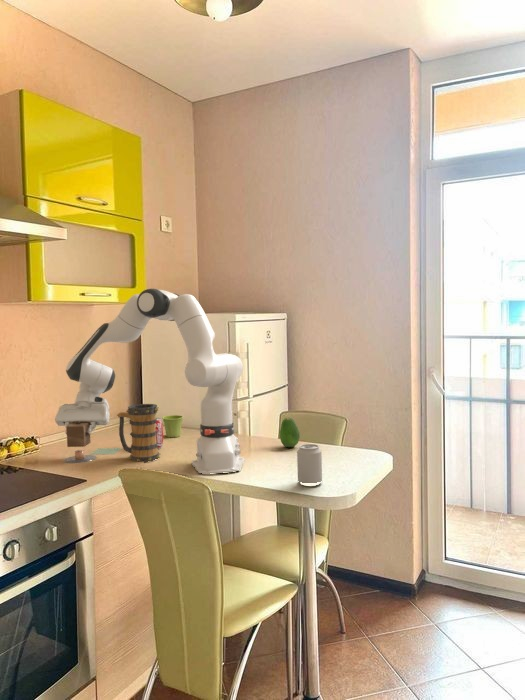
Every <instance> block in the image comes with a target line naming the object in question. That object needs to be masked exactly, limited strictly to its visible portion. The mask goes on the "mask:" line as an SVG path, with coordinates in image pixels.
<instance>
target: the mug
mask: <svg viewBox="0 0 525 700" xmlns="http://www.w3.org/2000/svg"><path fill="white" fill-rule="evenodd" d="M127 407H128V408H127V410H125V411H120V412H118V413H117V414H116V417H118V418H119V424H118V425H119V427H118V430H119V431H118V432H119V433H118V434H119V435H118V436H119V441H120V443H121V446H122V449H123V450H124V451H125V452H127V453H130V455H129V457H128V458H127V459H128V460H130V461H133V462H144V463H149V462H148V461H151V462H154V461H153V460H155V459H158V458H159V459H160V458H161V453H160V452H159V451H158V450H159V449H157V447H158V445H157V444H158V443H157V442H156V434H157V432H156V430H155V428H156V421H157V419H156V418H157V413H158V411H159V407H158V405H157V404H156V403H155V404H154V403H138V404H132V405H129V406H127ZM125 418H127V419H129V425H131V432H130V433H129V435H130V436H131V446H130V447H129V446H128V444H127V441H126V438H125V433H124V425H125ZM159 459H158V460H159ZM155 461H156V460H155Z"/></svg>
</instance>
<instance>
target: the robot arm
mask: <svg viewBox="0 0 525 700" xmlns="http://www.w3.org/2000/svg"><path fill="white" fill-rule="evenodd" d="M152 319H155V320H159V321H168V322H173V321H174V322H175V324H176V326H177V328H178V330H179V332H180V335H181V337H182V339H183V342H184V344H185V346H186V350H187V363H186V365H185V369H184V375H185V378H186V380H187V382H188V384H190V385H191V386H193V387H199V388H207V391H206V394H205V396H204V397H203V398H202V400H201V402H200V420H201V421H200V422H201V424H200V428H199V432H200V434H199V435H200V437H198V439H197V440H196V454H195V455H196V459H194V460H192V461H191V465H192V466H193V468H194V467H195V468H194V469H195V470H196V472H197V471H198V472H199V473H202V474H201V475H211V474H210V473H223V472H233V471H238V470H240V469H241V470H242V468H241V467H243V466H242V464H243V465H244V463H243V462H245V458H244V457H242V456H241V449H240V443H239V438H238V437H237V436H236V435H235V434H234V433H235V426H234V422H233V397H234V392H235V388H236V385H237V383H238V380H239V378H240V377H241V376H242V374H243V371H244V365H243V362H242V360H241V358H240V357H239V356H237V355H235V354H231V353H226V352H224V353H216V352H215V351H214V346H213V342H214V340H215V338H216V333H215V331H214V328H213V327H212V324H211V322H210V321H209V318H208V317H207V315H206V313H205V310H204V308H202V306H201V304H200V302H199V301H198V300H197V299H196V298H195V296H193V295H192V294H189V293H183V294H181V295H179V294H178V293H174V292H171V291H168V290H165V289H156V288H147V289H144V290H142V291H141V292H140V293H136V294H133V295H132V296H131V297H130V298H129V299H128V300H127V301H126V302H125V304H124V305H123V307H122V308H121V309H120V311H119V313H118V314H117V316H116V317H115V319H113V320H112V321H110V322H105V323H102V324H101V325H100V326H99V327H98V328H97V329H96V331H95V332H94V333H93V334H91V337H90V338H88V340H87V341H86V342H85V344H83V346H82V347H81V348H80V350H79V351H78V352H77V353H76V354H75V355H74V356H72V358H71V359H69V361H68V363H67V365H66V368H65V372H66V374H67V376H68V379H70V380H71V381H74V382H77V383H80V384H79V391H78V392H77V394H76V396H75V400H74V403H63V404H62V405H60V406H59V407H58V410H57V413H56V415H55V418H54V421H55V423H56V425H57V426H58V427H65V432H64V433H65V435H66V436H67V427H66V426H67V425H69V424H71V423H73V422H76V421H80V422H90V427H89V428H87V429H86V433H87V434H90V435H91V434H92V432H93V430H95V429H96V427H97V426H106V425H109V421H110V418H111V417H110V416H111V413H110V409H111V408H110V404H109V402H108V400H107V399H106V398H105V397H102V396H101V394H105V393H107V392H108V391H110V390H111V389H112V388H113V386H114V384H115V383H114V382H115V379H116V373H115V370H114V369H113V368H112V367H109V366H107V365H106V364H103V363H100V362H98V361H95V360H93V359H91V358H90V357H91V356H92V355H93V354H94V353H95V351H96V350H97V349H98V348H99V347H100V346H101V345H102V344H105V343H118V344H119V343H122V344H125V343H132V342H135V341H136V340H138V339H139V338H140V336H141V335H142V334H143V331H144V330H145V329H146V326H147V325H148V323H149V322H150V320H152ZM241 470H240V471H241ZM198 472H197V473H198ZM199 473H198V474H199Z"/></svg>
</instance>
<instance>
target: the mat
mask: <svg viewBox="0 0 525 700" xmlns="http://www.w3.org/2000/svg"><path fill="white" fill-rule="evenodd" d="M122 449H123V447H112V448H111V447H110V448H109V447H105V448H102V447H101V448H97V449H95V450H94V451H93V452H91V453H89V454H88V455H93V456H97V455H116V454H117V453H118V452H120V450H122Z"/></svg>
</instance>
